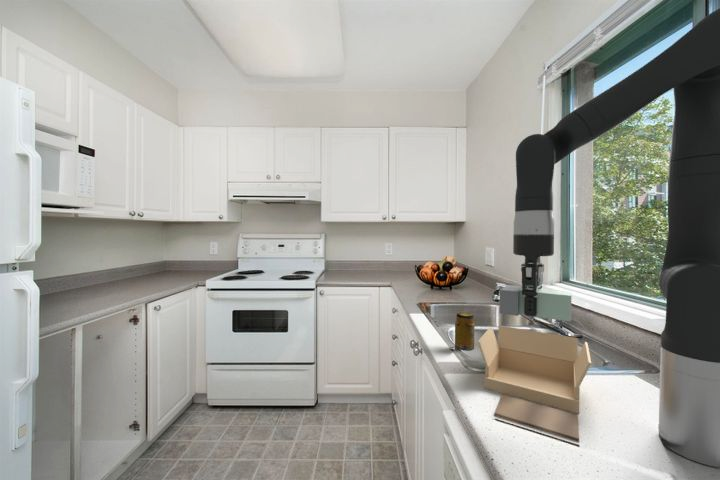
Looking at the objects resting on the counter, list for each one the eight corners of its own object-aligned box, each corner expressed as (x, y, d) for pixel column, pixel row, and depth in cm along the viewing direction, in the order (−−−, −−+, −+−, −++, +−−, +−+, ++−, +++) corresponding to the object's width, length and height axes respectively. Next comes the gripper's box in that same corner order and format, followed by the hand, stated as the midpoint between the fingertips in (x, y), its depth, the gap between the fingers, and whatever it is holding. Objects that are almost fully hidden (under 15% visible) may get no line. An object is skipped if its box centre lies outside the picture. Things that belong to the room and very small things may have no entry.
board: (577, 421, 62) (577, 414, 62) (578, 447, 55) (579, 438, 55) (502, 400, 70) (502, 394, 70) (494, 420, 63) (494, 412, 63)
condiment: (463, 345, 106) (464, 310, 105) (484, 353, 98) (485, 316, 98) (448, 349, 102) (448, 313, 102) (468, 358, 95) (469, 319, 95)
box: (571, 314, 65) (571, 290, 65) (570, 323, 58) (571, 296, 58) (506, 306, 72) (506, 285, 72) (499, 313, 66) (499, 289, 66)
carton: (585, 385, 78) (586, 339, 78) (590, 421, 63) (591, 364, 62) (491, 363, 90) (492, 324, 90) (475, 389, 75) (476, 341, 75)
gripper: (551, 232, 57) (550, 323, 58) (556, 233, 69) (554, 309, 69) (507, 232, 62) (506, 317, 62) (518, 233, 73) (517, 304, 74)
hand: (532, 312), depth 66 cm, fingers closed on box, 5 cm apart
